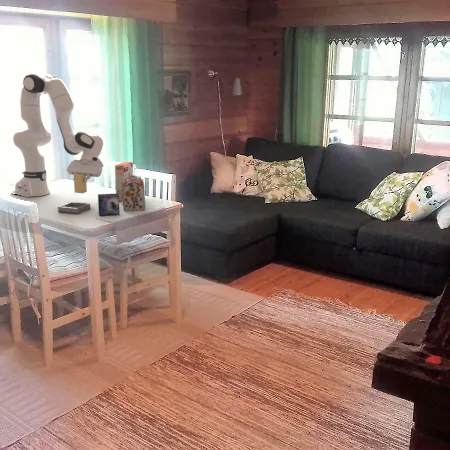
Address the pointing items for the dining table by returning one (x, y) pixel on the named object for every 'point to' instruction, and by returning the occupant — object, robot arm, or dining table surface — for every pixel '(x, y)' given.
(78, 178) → the tan rectangular block
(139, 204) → the decorative jar
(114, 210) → the small box
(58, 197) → the dining table surface
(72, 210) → the tray
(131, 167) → the cracker box
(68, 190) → the dining table surface
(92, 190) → the dining table surface
